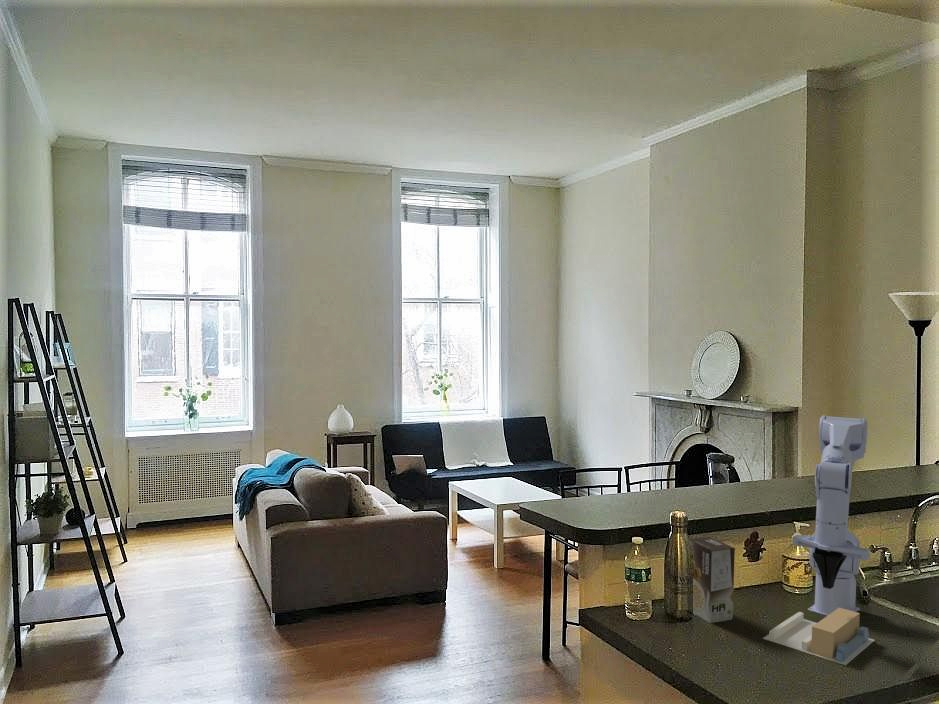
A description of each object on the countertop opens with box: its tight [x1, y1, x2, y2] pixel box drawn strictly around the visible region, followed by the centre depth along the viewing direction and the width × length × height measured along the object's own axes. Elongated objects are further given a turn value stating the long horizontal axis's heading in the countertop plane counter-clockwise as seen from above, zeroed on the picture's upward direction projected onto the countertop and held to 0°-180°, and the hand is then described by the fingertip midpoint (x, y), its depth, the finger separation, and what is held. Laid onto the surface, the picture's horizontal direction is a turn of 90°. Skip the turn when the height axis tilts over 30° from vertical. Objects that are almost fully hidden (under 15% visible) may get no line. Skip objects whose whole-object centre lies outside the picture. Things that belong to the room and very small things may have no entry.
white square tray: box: [762, 611, 876, 666], centre depth 157 cm, size 16×16×3 cm
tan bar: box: [811, 608, 860, 658], centre depth 155 cm, size 14×4×5 cm, turn 135°
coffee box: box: [688, 536, 736, 624], centre depth 169 cm, size 9×6×16 cm
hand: (828, 587), depth 159 cm, fingers closed
